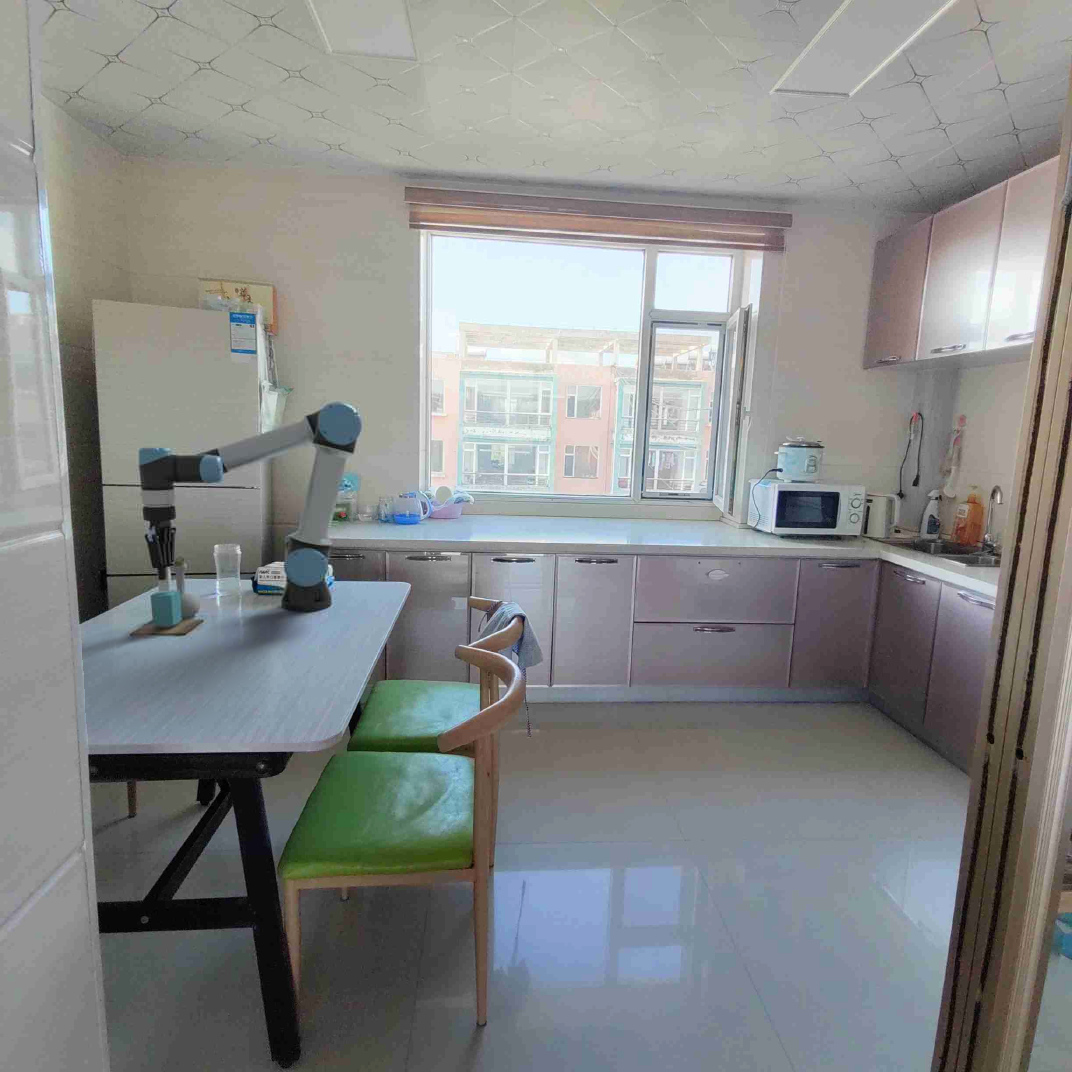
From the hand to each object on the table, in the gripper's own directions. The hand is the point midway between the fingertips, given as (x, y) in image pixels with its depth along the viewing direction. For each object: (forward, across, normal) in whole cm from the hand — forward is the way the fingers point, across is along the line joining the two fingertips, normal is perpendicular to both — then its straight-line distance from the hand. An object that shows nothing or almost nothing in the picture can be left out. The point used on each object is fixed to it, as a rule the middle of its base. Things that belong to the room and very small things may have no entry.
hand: (165, 590), depth 169 cm
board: (+11, 0, 0) cm, 11 cm away
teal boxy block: (+9, 0, 0) cm, 9 cm away
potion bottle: (+11, -10, 0) cm, 15 cm away
